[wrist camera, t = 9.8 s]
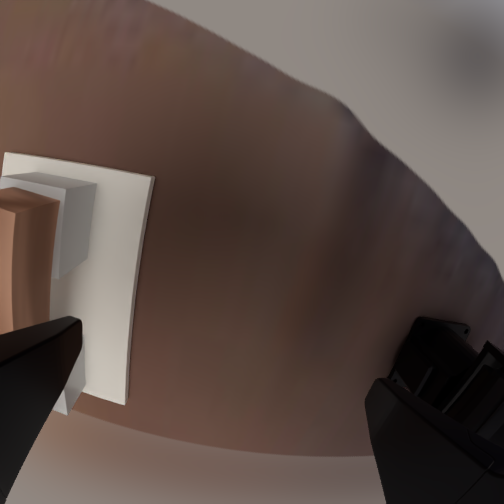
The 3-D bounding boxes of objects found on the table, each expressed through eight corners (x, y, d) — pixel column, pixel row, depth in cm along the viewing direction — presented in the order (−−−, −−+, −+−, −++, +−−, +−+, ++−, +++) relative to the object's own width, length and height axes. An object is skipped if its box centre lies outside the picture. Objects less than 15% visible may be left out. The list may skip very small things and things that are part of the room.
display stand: (155, 176, 19) (129, 181, 14) (127, 398, 24) (111, 438, 19) (12, 152, 18) (-31, 154, 13) (13, 355, 22) (-14, 384, 18)
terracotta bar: (60, 200, 14) (15, 213, 10) (53, 406, 18) (32, 442, 14) (14, 186, 14) (-33, 196, 10) (16, 388, 18) (-9, 419, 14)
